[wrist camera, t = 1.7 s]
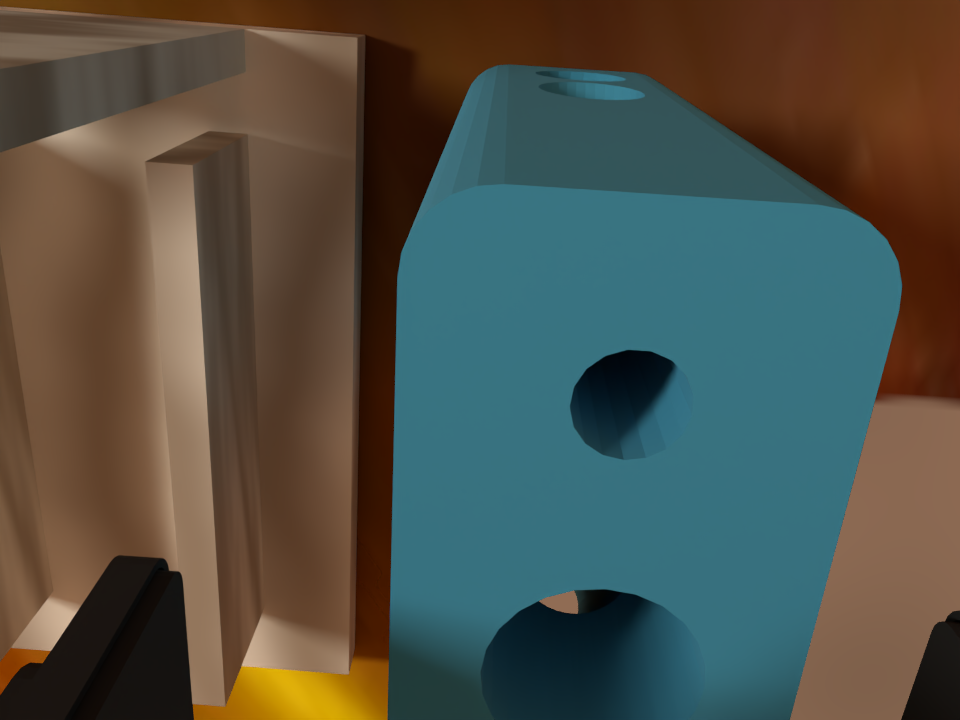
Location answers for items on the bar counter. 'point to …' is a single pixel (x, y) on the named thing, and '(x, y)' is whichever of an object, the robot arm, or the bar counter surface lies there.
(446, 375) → the block
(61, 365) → the book stand
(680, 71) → the bar counter surface
